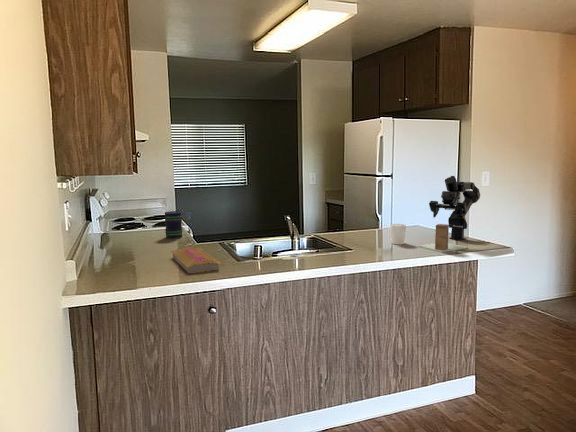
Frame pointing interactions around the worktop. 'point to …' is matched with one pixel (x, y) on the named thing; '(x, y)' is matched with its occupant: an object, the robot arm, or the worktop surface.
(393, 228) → the white cup
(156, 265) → the worktop surface
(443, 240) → the walnut block
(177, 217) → the storage jar
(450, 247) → the sage placemat
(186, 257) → the pink-topped tan slab
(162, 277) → the worktop surface
